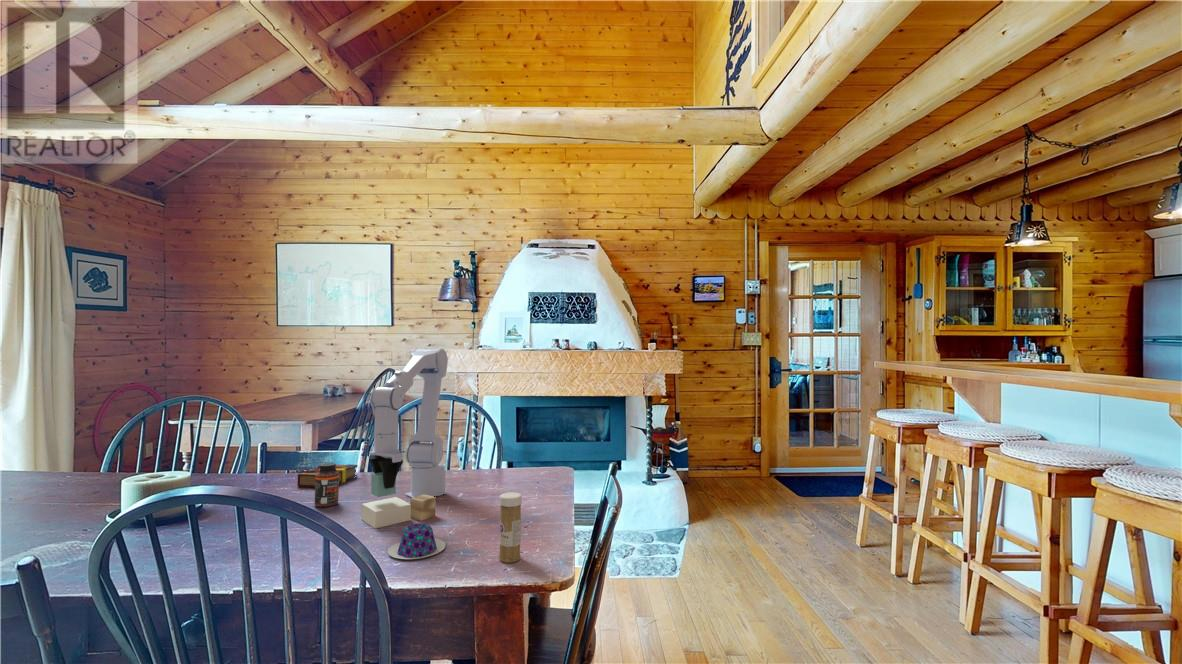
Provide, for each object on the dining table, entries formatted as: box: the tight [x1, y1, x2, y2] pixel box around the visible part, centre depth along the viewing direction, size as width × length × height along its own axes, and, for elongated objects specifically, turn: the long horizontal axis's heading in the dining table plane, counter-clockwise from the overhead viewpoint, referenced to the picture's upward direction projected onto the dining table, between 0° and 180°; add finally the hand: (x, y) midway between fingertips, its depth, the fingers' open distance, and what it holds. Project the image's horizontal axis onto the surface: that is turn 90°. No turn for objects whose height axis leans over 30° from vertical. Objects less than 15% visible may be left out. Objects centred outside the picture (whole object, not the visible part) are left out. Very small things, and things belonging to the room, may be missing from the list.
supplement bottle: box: [314, 462, 340, 508], centre depth 143 cm, size 6×6×11 cm
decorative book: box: [297, 463, 358, 488], centre depth 168 cm, size 11×16×5 cm
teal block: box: [370, 472, 397, 498], centre depth 131 cm, size 4×4×5 cm
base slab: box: [361, 496, 412, 529], centre depth 131 cm, size 9×9×4 cm
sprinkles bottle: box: [498, 491, 523, 564], centre depth 107 cm, size 5×5×13 cm
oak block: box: [409, 495, 437, 522], centre depth 133 cm, size 4×4×5 cm
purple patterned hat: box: [387, 523, 446, 560], centre depth 111 cm, size 12×12×5 cm
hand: (385, 485), depth 132 cm, fingers closed on teal block, 4 cm apart
